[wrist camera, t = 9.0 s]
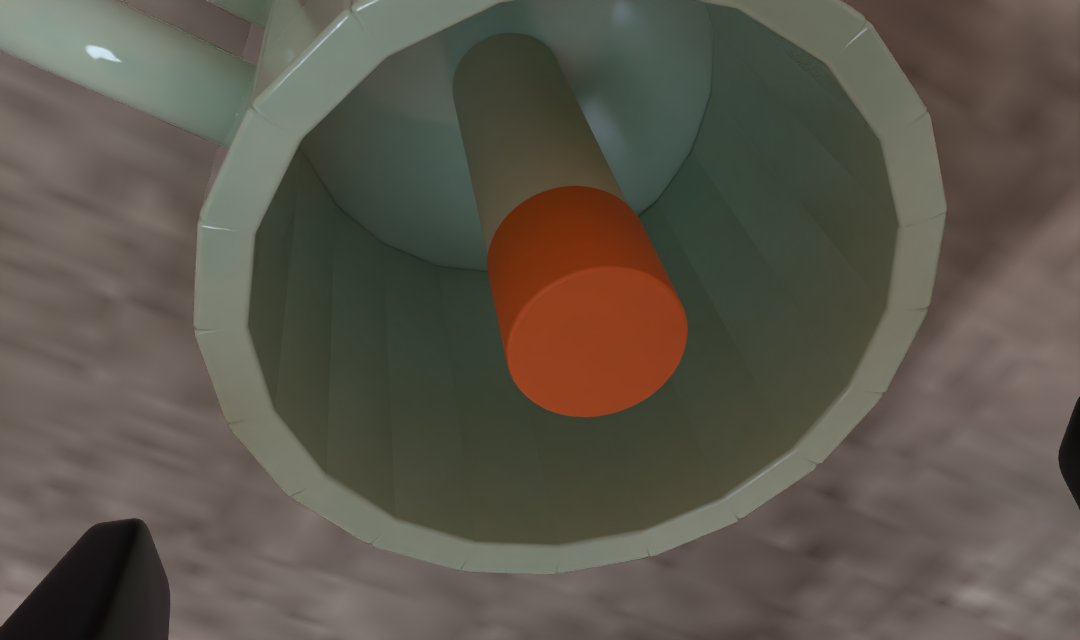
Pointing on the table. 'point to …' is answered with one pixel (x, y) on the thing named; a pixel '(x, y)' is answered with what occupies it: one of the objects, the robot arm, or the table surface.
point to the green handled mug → (461, 257)
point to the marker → (561, 239)
